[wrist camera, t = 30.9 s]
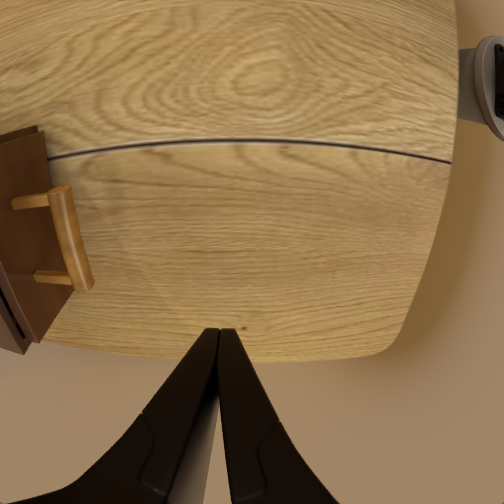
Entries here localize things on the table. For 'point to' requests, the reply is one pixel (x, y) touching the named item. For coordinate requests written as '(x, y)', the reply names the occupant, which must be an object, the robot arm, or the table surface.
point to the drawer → (37, 239)
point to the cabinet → (3, 328)
